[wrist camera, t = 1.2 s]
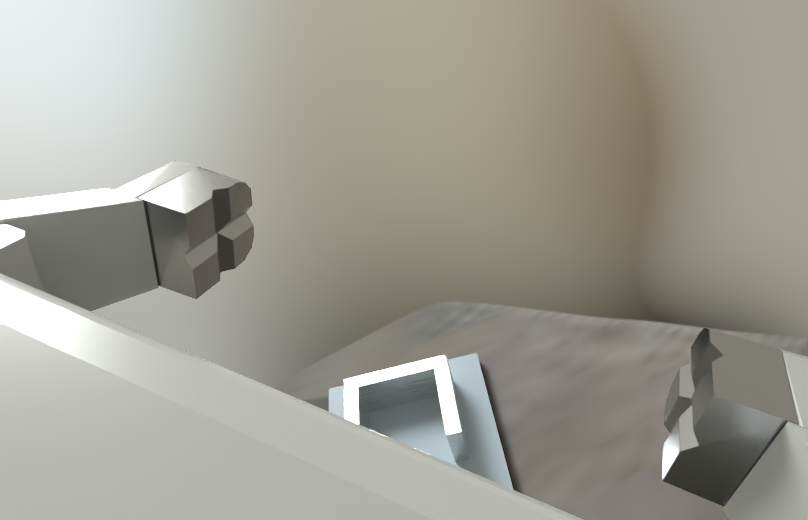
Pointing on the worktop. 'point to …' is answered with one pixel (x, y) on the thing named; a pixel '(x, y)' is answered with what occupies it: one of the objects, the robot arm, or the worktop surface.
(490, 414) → the base plate
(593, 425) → the worktop surface
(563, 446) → the worktop surface
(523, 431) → the worktop surface
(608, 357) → the worktop surface
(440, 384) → the slot bracket
